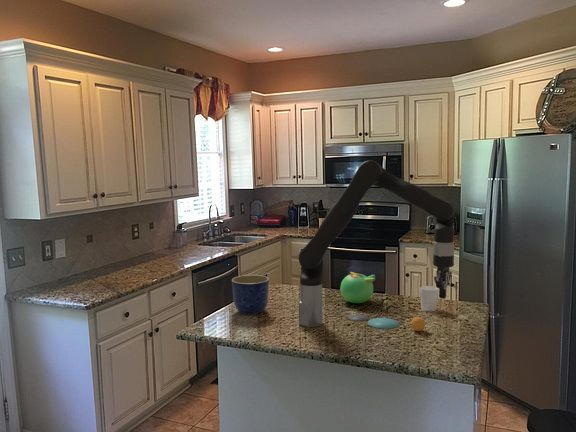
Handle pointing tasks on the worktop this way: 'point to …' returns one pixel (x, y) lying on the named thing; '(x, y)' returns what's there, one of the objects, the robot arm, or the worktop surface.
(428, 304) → the white cup
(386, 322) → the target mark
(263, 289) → the planter
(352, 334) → the worktop surface
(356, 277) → the toy bird
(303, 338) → the worktop surface
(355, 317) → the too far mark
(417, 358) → the worktop surface
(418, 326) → the ball
